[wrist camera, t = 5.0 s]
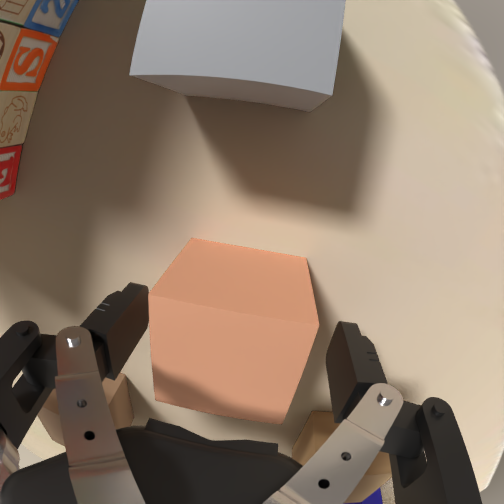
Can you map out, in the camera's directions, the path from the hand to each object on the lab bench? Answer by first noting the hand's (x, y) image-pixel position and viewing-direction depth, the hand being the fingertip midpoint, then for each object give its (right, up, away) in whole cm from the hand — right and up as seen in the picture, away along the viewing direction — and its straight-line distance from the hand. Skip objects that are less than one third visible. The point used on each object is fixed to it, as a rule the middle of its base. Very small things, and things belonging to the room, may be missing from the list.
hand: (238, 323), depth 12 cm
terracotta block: (0, +1, +2) cm, 2 cm away
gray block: (+1, +11, -2) cm, 11 cm away
